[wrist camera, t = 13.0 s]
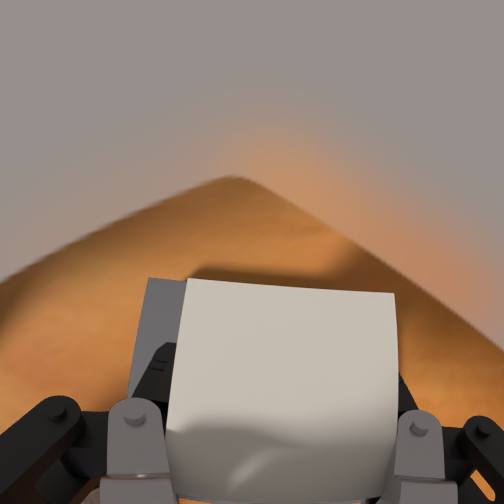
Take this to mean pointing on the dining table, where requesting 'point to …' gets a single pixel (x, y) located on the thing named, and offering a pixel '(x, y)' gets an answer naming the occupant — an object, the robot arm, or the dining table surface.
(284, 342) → the cream block
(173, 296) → the base board
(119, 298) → the dining table surface
